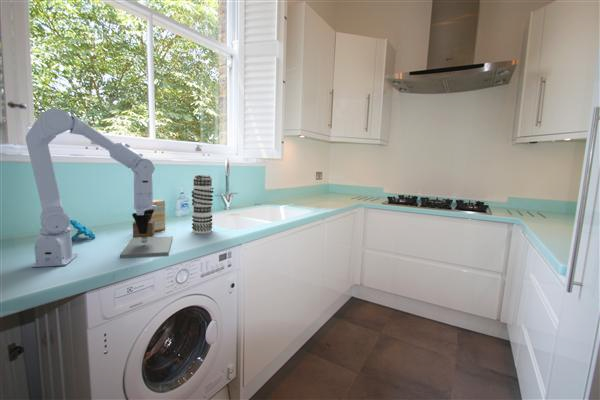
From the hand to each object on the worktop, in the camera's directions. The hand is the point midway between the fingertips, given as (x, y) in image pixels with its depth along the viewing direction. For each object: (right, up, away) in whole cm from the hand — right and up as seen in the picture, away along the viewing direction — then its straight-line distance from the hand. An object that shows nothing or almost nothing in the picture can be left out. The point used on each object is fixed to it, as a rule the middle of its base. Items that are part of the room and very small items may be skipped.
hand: (144, 231), depth 102 cm
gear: (-27, -4, +7) cm, 28 cm away
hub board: (+1, -6, +1) cm, 6 cm away
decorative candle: (+11, -3, +27) cm, 30 cm away
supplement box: (-9, -2, +24) cm, 26 cm away
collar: (0, -1, 0) cm, 1 cm away
